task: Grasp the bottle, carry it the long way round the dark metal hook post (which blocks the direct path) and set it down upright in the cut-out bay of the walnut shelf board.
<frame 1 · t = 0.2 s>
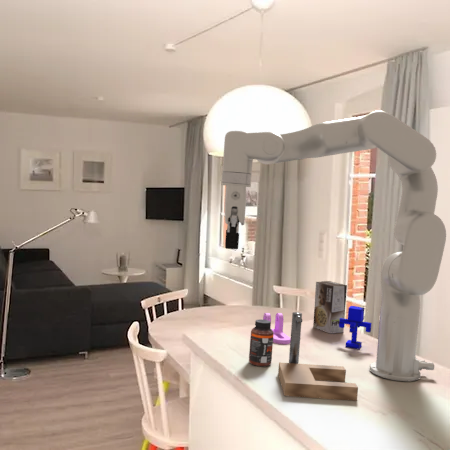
hand: (231, 247, 132), 30 cm above the worktop, fingers open, 9 cm apart
coffee box: (327, 330, 176), on the worktop
supplement bottle: (259, 364, 135), on the worktop
figurine: (353, 347, 157), on the worktop
bay shelf: (315, 386, 120), on the worktop
bracket: (276, 339, 161), on the worktop
hook post: (292, 371, 130), on the worktop
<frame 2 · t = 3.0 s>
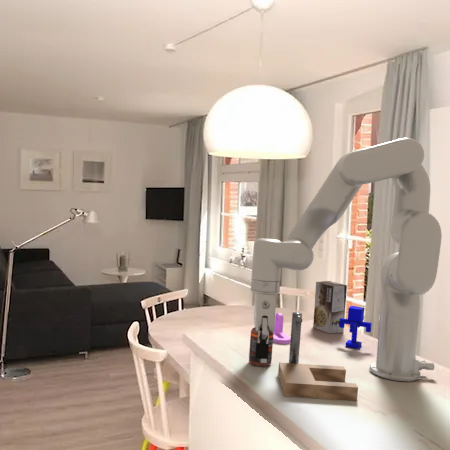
hand: (260, 353, 134), 3 cm above the worktop, fingers closed on supplement bottle, 6 cm apart
supplement bottle: (259, 364, 135), on the worktop, touching gripper
everything else where it was.
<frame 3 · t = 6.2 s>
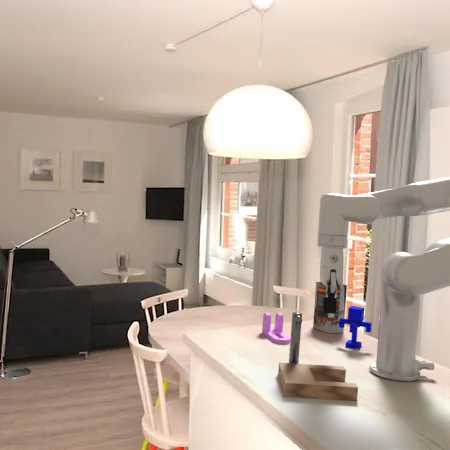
hand: (327, 309, 134), 15 cm above the worktop, fingers closed on supplement bottle, 6 cm apart
supplement bottle: (326, 319, 134), point 13 cm above the worktop, touching gripper
everything else where it was.
when the fingers open (4 cm above the worktop, at t = 9.6 s): supplement bottle drops 2 cm, on the worktop.
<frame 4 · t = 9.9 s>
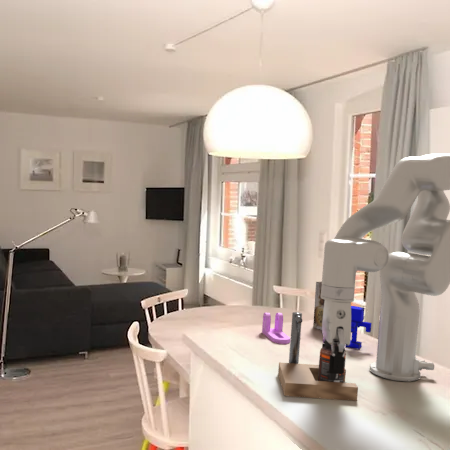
hand: (331, 366, 120), 5 cm above the worktop, fingers open, 8 cm apart
supplement bottle: (330, 388, 120), on the worktop
everything else where it was.
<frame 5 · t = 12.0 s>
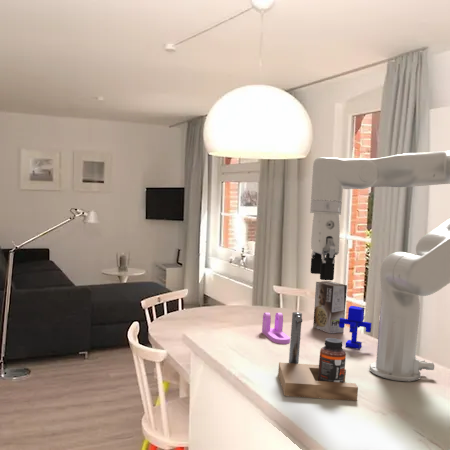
hand: (321, 276, 128), 25 cm above the worktop, fingers open, 9 cm apart
nothing on the worktop moved.
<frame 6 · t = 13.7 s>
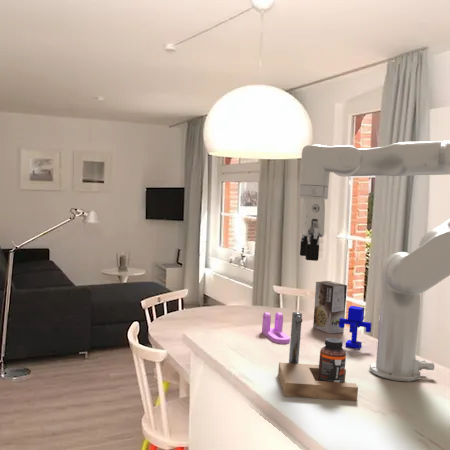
hand: (308, 258, 135), 28 cm above the worktop, fingers open, 9 cm apart
nothing on the worktop moved.
at the end: supplement bottle inside the target area on the bay shelf (0.2 cm from its centre), point 0.0 cm above the bay shelf's base; supplement bottle tilted 0°; the gripper is holding nothing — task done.
